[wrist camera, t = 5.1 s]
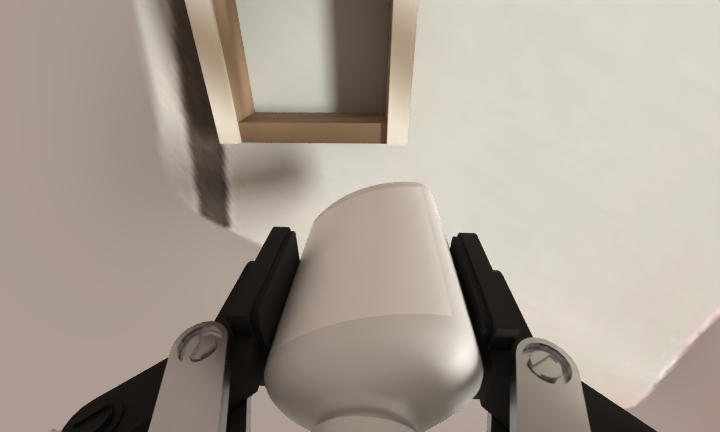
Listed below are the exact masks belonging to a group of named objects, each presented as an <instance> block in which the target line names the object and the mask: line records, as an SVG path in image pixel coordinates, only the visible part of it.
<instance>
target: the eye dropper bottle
mask: <svg viewBox="0 0 720 432" xmlns="http://www.w3.org/2000/svg"><path fill="white" fill-rule="evenodd" d="M482 379H483V364H482V359H481V354H480V351H479V347H478V343H477V340H476V336H475V333H474V329H473V326H472V322H471V319H470V315H469V312H468V308H467V305H466V302H465V298H464V295H463V292H462V288H461V285H460V282H459V278H458V275H457V272H456V268H455V265H454V262H453V259H452V255H451V252H450V249H449V245H448V242H447V239H446V236H445V232H444V229H443V226H442V222H441V219H440V216H439V213H438V210H437V207H436V204H435V201H434V199H433V196H432V194H431V192H430V190H429V189H428V188H427V187H426V186H425V185H422V184H419V183H415V182H395V183H386V184H379V185H375V186H370V187H367V188H364V189H361V190H358V191H355V192H353V193H351V194H349V195H347V196H345V197H343V198H341V199H339V200H338V201H336V202H335V203H333V204H332V205H330V206H329V207H328V208H327V209H325V210H324V211H323V212H322V213H321V214H320V215H319V216H318V217H317V218H316V219H315V221H314V223H313V225H312V228H311V230H310V233H309V236H308V239H307V242H306V245H305V248H304V251H303V253H302V256H301V259H300V263H299V265H298V268H297V271H296V274H295V277H294V280H293V283H292V286H291V289H290V292H289V295H288V298H287V301H286V303H285V306H284V309H283V312H282V315H281V318H280V321H279V324H278V327H277V330H276V333H275V337H274V340H273V343H272V346H271V349H270V352H269V355H268V358H267V362H266V366H265V371H264V383H265V387H266V389H267V392H268V394H269V396H270V398H271V399H272V401H273V402H274V404H275V405H276V406H277V407H278V408H279V409H280V410H281V411H282V412H283V413H284V414H285V415H286V416H287V417H288V418H290V419H291V420H292V421H294V422H295V423H297V424H298V425H300V426H302V427H304V428H306V429H308V430H310V431H311V432H424V431H426V430H428V429H430V428H431V427H433V426H435V425H437V424H439V423H441V422H442V421H444V420H445V419H447V418H449V417H450V416H452V415H453V414H455V413H456V412H458V411H459V410H460V409H462V408H463V407H464V406H465V405H466V404H467V403H469V402H470V401H471V400H472V399H473V398H474V396H475V395H476V394H477V392H478V391H479V389H480V386H481V383H482Z"/></svg>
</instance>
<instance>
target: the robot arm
mask: <svg viewBox="0 0 720 432" xmlns="http://www.w3.org/2000/svg"><path fill="white" fill-rule="evenodd" d="M450 252H451V255H452V259H453V262H454V265H455V268H456V272H457V275H458V278H459V282H460V285H461V288H462V292H463V295H464V298H465V302H466V305H467V308H468V312H469V315H470V319H471V322H472V326H473V329H474V333H475V336H476V340H477V343H478V347H479V351H480V354H481V359H482V364H483V379H482V383H481V386H480V389H479V391H478V392H477V394H476V395H475V396H474V398H473V399H480V402H481V406H482V407H483V408H485V409H486V410H487V411H488V416H487V432H657V431H655V430H654V429H652V428H651V427H649V426H648V425H646V424H645V423H643V422H642V421H640V420H639V419H637V418H636V417H634V416H633V415H631V414H630V413H628V412H627V411H625V410H624V409H622V408H621V407H619V406H618V405H616V404H615V403H613V402H612V401H610V400H609V399H607V398H606V397H605V396H603V395H602V394H600V393H599V392H597V391H596V390H594V389H593V388H591V387H590V386H588V385H587V384H585V383H584V382H582V381H581V380H580V375H579V371H578V369H577V366H576V364H575V363H574V361H573V360H572V358H571V357H570V356H569V355H568V354H567V353H566V352H565V351H564V350H563V349H561V348H560V347H558V346H557V345H555V344H554V343H552V342H549V341H547V340H544V339H540V338H533V336H532V334H531V332H530V330H529V328H528V326H527V324H526V322H525V320H524V318H523V316H522V314H521V312H520V310H519V308H518V306H517V304H516V301H515V299H514V297H513V295H512V293H511V291H510V289H509V287H508V285H507V283H506V281H505V279H504V277H503V275H502V273H501V272H500V271H498V270H493V269H492V267H491V265H490V263H489V261H488V258H487V256H486V254H485V252H484V250H483V247H482V245H481V243H480V241H479V239H478V236H477V235H476V234H475V233H459V234H458V236H457V237H453V238H452V242H451V247H450ZM299 263H300V259H299V253H298V246H297V240H296V234H295V232H294V231H291V230H290V228H289V227H273V228H272V230H271V232H270V234H269V236H268V238H267V239H266V241H265V243H264V245H263V247H262V249H261V251H260V252H259V254H258V256H257V258H256V260H255V261H250V262H248V263H247V265H246V267H245V268H244V270H243V272H242V273H241V275H240V277H239V279H238V280H237V282H236V284H235V286H234V288H233V289H232V291H231V293H230V295H229V296H228V298H227V300H226V302H225V303H224V305H223V307H222V309H221V310H220V312H219V314H218V316H217V317H216V319H215V321H214V322H213V321H208V322H202V323H199V324H196V325H194V326H192V327H190V328H188V329H187V330H186V331H184V332H183V333H182V334H181V335H180V336H179V337H178V338H177V339H176V341H175V342H174V344H173V346H172V348H171V350H170V354H169V357H168V358H166V359H165V360H163V361H161V362H159V363H158V364H156V365H154V366H152V367H151V368H149V369H147V370H145V371H143V372H142V373H140V374H138V375H137V376H135V377H133V378H131V379H129V380H128V381H126V382H124V383H122V384H121V385H119V386H117V387H115V388H114V389H112V390H110V391H108V392H106V393H105V394H103V395H101V396H99V397H98V398H96V399H94V400H92V401H91V402H90V403H88V404H87V405H85V406H84V407H82V408H81V409H80V410H79V411H78V412H77V413H76V414H75V415H74V416H72V418H71V419H70V420H69V421H68V423H67V424H66V425H65V427H64V428H63V429H62V430H60V431H56V430H55V429H53V430H51V431H49V432H251V431H250V429H251V396H252V395H253V394H254V393H256V392H257V390H258V387H259V385H260V386H265V383H264V371H265V366H266V362H267V358H268V355H269V352H270V349H271V346H272V343H273V340H274V337H275V333H276V330H277V327H278V324H279V321H280V318H281V315H282V312H283V309H284V306H285V303H286V301H287V298H288V295H289V292H290V289H291V286H292V283H293V280H294V277H295V274H296V271H297V268H298V265H299Z"/></svg>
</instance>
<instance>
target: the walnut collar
mask: <svg viewBox="0 0 720 432" xmlns="http://www.w3.org/2000/svg"><path fill="white" fill-rule="evenodd" d="M185 4H186V8H187V12H188V16H189V20H190V24H191V28H192V32H193V36H194V40H195V44H196V48H197V52H198V56H199V61H200V65H201V69H202V73H203V77H204V81H205V85H206V89H207V93H208V97H209V101H210V105H211V109H212V113H213V117H214V121H215V125H216V129H217V133H218V137H219V141H220V144H240V143H241V142H266V143H381V144H387V145H407V138H408V126H409V113H410V101H411V88H412V76H413V63H414V50H415V38H416V25H417V13H418V0H390V17H389V42H388V67H387V92H386V113H255V110H254V105H253V99H252V93H251V88H250V82H249V76H248V71H247V65H246V59H245V54H244V48H243V42H242V37H241V31H240V25H239V20H238V14H237V9H236V3H235V0H185Z"/></svg>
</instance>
